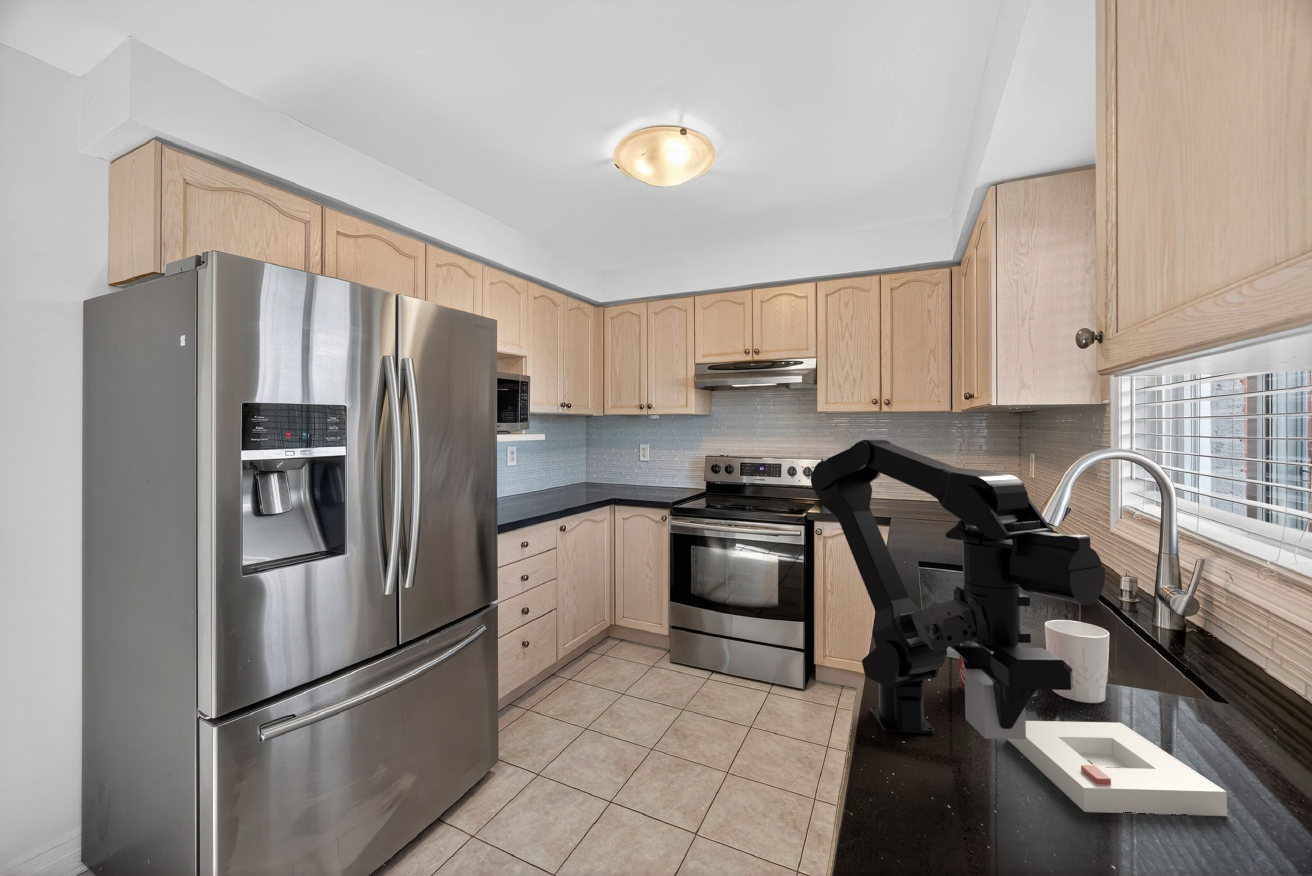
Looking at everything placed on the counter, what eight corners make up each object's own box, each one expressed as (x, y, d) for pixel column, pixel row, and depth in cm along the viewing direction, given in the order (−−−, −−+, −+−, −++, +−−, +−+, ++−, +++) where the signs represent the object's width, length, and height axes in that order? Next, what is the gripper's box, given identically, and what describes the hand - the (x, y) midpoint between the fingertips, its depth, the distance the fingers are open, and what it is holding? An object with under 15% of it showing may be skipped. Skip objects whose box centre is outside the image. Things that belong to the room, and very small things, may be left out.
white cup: (1048, 678, 90) (1046, 616, 90) (1110, 691, 85) (1109, 626, 85) (1043, 695, 84) (1042, 629, 84) (1110, 711, 79) (1109, 641, 79)
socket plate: (1007, 739, 71) (1007, 715, 72) (1121, 742, 71) (1120, 718, 71) (1084, 811, 57) (1083, 782, 58) (1227, 816, 57) (1226, 785, 57)
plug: (965, 719, 66) (964, 668, 66) (1023, 720, 66) (1022, 669, 66) (985, 738, 62) (983, 684, 62) (1047, 739, 61) (1046, 685, 61)
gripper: (891, 565, 74) (893, 682, 74) (958, 605, 55) (961, 762, 55) (977, 565, 73) (979, 683, 73) (1074, 606, 54) (1078, 765, 54)
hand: (994, 717), depth 64 cm, fingers closed on plug, 4 cm apart
